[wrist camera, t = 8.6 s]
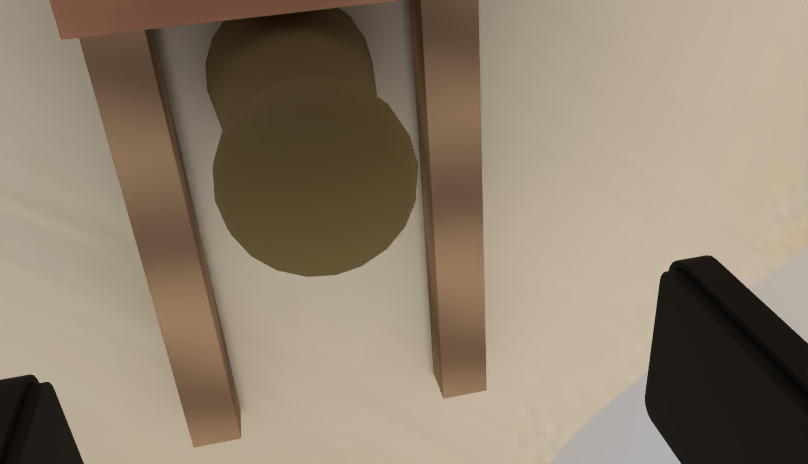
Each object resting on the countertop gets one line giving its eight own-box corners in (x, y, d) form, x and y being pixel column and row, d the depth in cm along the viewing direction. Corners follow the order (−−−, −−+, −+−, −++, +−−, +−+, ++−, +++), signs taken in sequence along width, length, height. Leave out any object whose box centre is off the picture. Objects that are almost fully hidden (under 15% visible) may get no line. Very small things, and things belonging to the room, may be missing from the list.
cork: (168, 77, 26) (134, 215, 17) (288, -48, 25) (325, 25, 16) (293, 184, 29) (324, 353, 20) (405, 75, 28) (496, 199, 19)
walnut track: (58, -88, 23) (28, -73, 20) (460, -125, 25) (497, -118, 22) (195, 418, 33) (191, 486, 30) (475, 365, 35) (501, 423, 32)
